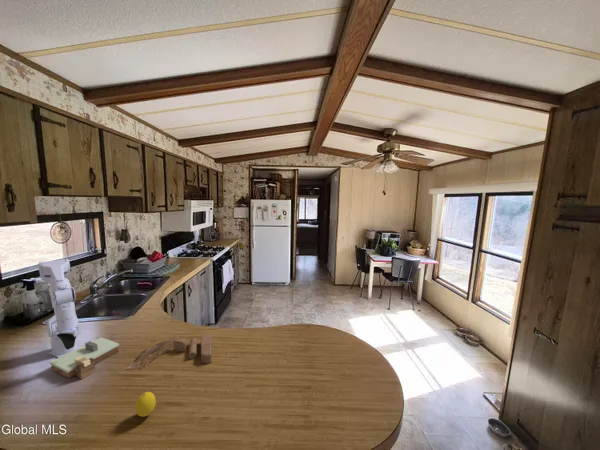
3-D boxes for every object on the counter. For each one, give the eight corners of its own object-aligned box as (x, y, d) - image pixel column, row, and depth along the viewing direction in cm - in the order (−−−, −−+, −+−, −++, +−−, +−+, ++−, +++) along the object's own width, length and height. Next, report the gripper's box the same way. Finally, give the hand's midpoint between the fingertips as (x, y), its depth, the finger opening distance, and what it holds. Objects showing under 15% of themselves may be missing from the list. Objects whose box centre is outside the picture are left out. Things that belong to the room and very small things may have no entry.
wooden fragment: (136, 374, 95) (135, 371, 95) (119, 367, 99) (119, 364, 99) (187, 339, 119) (187, 337, 119) (172, 334, 123) (172, 332, 123)
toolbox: (52, 370, 97) (50, 357, 96) (101, 345, 113) (100, 333, 113) (76, 382, 90) (74, 368, 89) (125, 354, 107) (124, 342, 106)
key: (74, 362, 95) (74, 358, 95) (80, 359, 97) (80, 355, 97) (84, 367, 92) (84, 363, 92) (90, 364, 94) (90, 360, 94)
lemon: (142, 408, 79) (141, 387, 78) (159, 407, 79) (158, 386, 79) (132, 423, 73) (130, 401, 73) (150, 422, 74) (148, 399, 73)
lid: (49, 364, 96) (48, 355, 96) (101, 339, 113) (100, 332, 113) (67, 373, 91) (66, 364, 91) (119, 345, 108) (118, 338, 108)
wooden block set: (210, 330, 117) (211, 351, 101) (211, 340, 118) (212, 363, 101) (173, 337, 111) (167, 361, 94) (174, 348, 111) (168, 374, 95)
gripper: (43, 318, 95) (48, 349, 96) (62, 325, 89) (67, 358, 91) (66, 311, 101) (69, 340, 103) (85, 317, 96) (88, 347, 97)
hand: (69, 347), depth 97 cm, fingers closed
